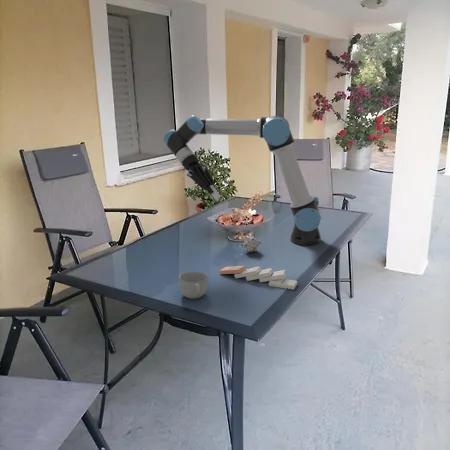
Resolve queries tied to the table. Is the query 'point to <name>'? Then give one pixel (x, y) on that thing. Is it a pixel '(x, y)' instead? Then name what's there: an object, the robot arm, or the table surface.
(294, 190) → the robot arm
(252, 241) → the game die
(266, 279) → the domino
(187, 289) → the teacup
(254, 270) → the domino
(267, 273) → the domino
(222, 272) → the domino
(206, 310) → the table surface
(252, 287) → the table surface
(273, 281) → the domino
